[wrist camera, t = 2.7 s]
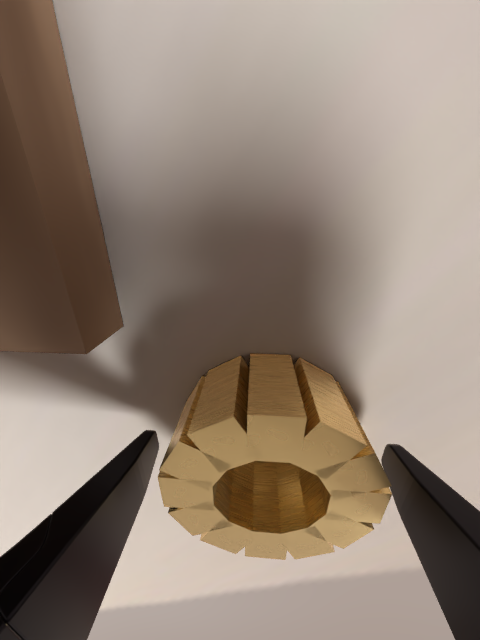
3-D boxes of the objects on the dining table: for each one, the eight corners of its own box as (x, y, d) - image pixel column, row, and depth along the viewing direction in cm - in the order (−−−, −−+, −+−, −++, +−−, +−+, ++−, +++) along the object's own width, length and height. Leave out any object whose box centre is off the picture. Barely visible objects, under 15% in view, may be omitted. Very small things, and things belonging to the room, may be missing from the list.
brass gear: (366, 357, 8) (421, 424, 6) (335, 481, 11) (361, 566, 8) (178, 350, 9) (143, 409, 6) (193, 471, 11) (173, 549, 9)
